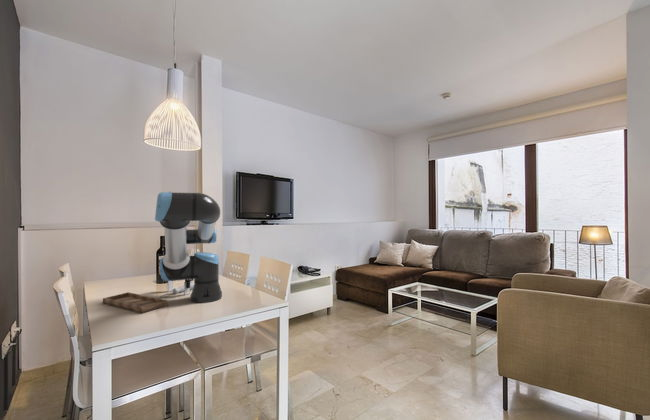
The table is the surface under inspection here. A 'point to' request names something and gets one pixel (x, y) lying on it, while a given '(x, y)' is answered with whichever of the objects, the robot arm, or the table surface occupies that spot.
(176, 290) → the screwdriver
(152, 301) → the tool tray
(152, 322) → the table surface
